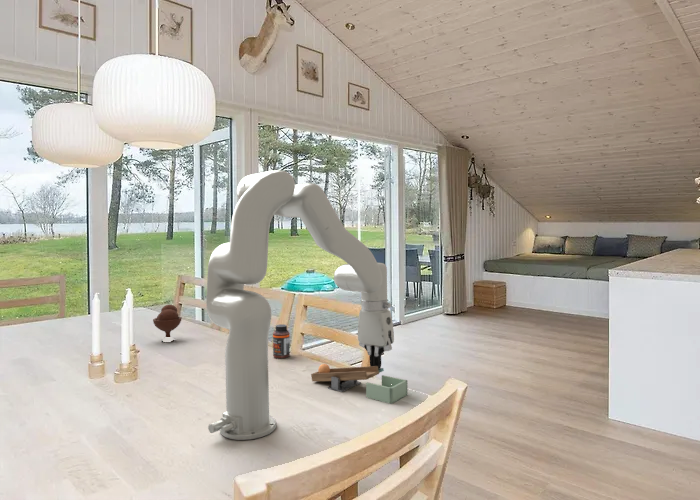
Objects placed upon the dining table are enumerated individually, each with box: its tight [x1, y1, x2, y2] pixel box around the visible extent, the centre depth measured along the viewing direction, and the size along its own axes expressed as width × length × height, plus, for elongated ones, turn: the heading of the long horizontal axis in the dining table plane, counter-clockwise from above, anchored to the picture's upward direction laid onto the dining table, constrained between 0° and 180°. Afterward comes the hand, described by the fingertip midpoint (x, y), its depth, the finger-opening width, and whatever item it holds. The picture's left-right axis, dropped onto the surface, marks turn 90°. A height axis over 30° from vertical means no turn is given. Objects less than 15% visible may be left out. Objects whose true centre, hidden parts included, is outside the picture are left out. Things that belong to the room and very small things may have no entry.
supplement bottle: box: [272, 323, 291, 359], centre depth 169 cm, size 6×6×11 cm
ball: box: [317, 363, 331, 373], centre depth 141 cm, size 4×4×4 cm
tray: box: [365, 375, 408, 404], centre depth 128 cm, size 8×8×4 cm
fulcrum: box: [327, 376, 362, 393], centre depth 136 cm, size 9×5×4 cm, turn 143°
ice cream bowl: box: [152, 304, 182, 337], centre depth 194 cm, size 11×11×15 cm
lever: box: [310, 365, 385, 382], centre depth 138 cm, size 10×20×2 cm, turn 53°
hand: (375, 368), depth 136 cm, fingers closed
